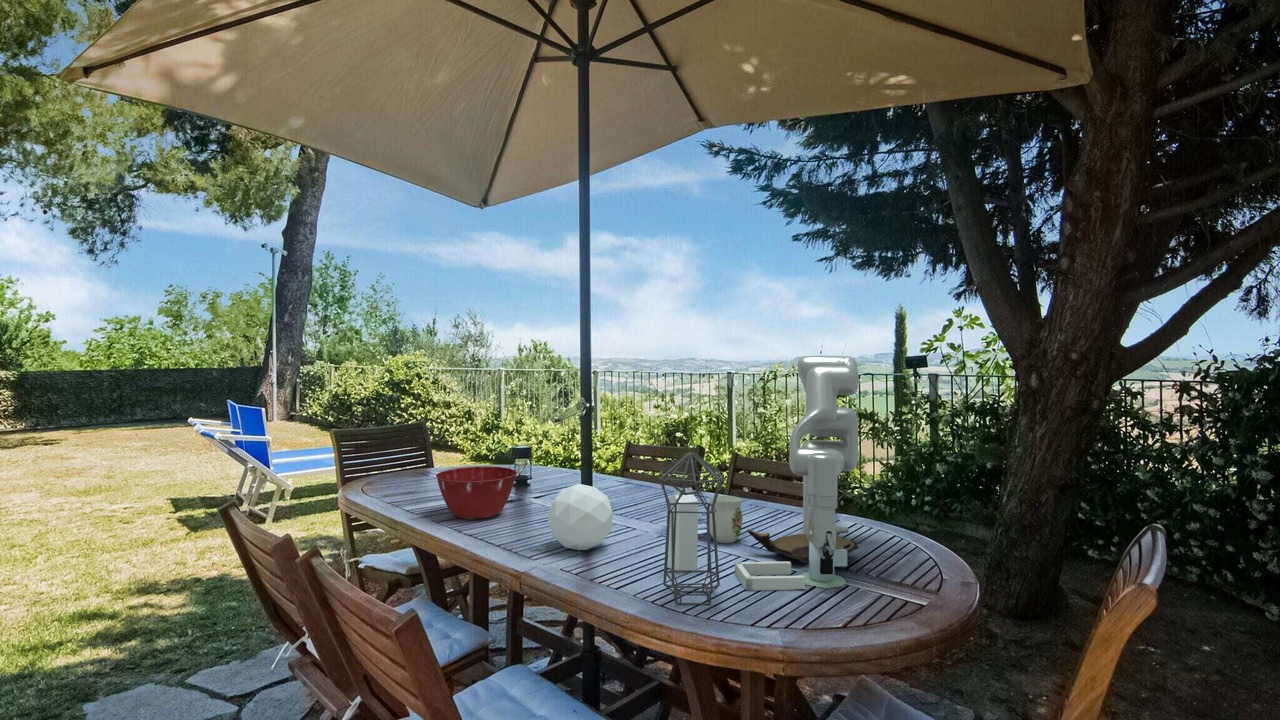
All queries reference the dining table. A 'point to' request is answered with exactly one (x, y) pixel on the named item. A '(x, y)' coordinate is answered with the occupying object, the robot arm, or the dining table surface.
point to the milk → (684, 533)
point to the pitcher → (726, 518)
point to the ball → (580, 517)
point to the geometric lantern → (719, 479)
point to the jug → (814, 562)
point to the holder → (767, 582)
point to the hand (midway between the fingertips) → (821, 568)
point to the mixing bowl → (476, 490)
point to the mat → (834, 583)
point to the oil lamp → (797, 544)
